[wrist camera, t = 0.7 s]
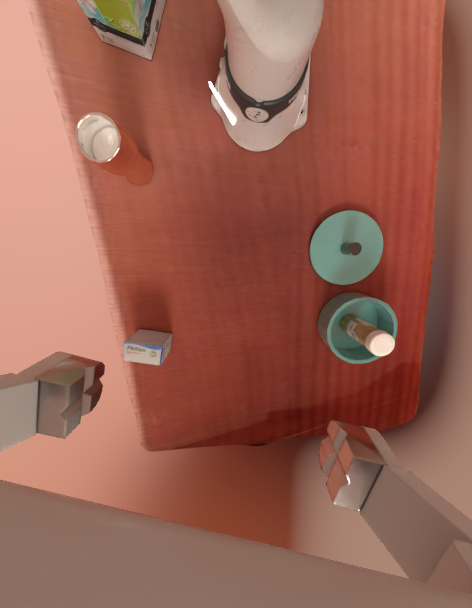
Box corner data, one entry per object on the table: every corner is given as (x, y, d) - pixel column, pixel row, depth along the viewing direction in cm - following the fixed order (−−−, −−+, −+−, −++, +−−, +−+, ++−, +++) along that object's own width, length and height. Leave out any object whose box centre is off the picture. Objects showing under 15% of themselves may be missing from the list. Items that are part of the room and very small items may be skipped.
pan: (327, 286, 55) (338, 291, 49) (389, 298, 56) (407, 304, 50) (310, 345, 58) (319, 356, 52) (368, 356, 59) (384, 369, 53)
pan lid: (319, 204, 51) (328, 199, 46) (390, 219, 52) (406, 216, 47) (300, 276, 55) (307, 279, 50) (367, 290, 55) (380, 294, 50)
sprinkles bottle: (335, 321, 57) (365, 343, 44) (352, 309, 56) (387, 328, 43) (346, 335, 57) (378, 361, 44) (363, 324, 57) (400, 347, 44)
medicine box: (138, 345, 59) (122, 361, 50) (140, 327, 58) (123, 341, 49) (171, 349, 59) (160, 366, 50) (173, 332, 58) (162, 347, 49)
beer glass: (126, 145, 49) (79, 102, 34) (159, 158, 50) (126, 121, 35) (117, 181, 50) (69, 153, 36) (150, 193, 51) (115, 171, 36)
